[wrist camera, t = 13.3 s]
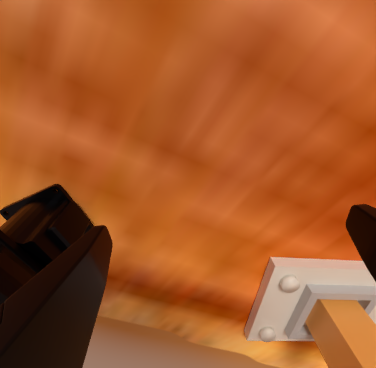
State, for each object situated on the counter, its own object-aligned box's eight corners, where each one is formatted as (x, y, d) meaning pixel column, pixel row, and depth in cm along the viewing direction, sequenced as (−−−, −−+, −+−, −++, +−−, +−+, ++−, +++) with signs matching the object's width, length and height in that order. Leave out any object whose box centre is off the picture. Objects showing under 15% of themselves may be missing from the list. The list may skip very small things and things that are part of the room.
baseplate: (244, 330, 33) (249, 350, 30) (270, 257, 26) (279, 275, 24) (360, 331, 34) (373, 350, 32) (410, 262, 28) (431, 280, 26)
